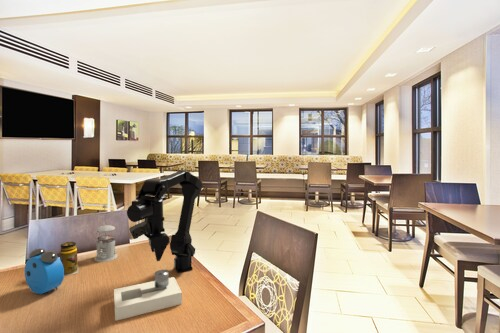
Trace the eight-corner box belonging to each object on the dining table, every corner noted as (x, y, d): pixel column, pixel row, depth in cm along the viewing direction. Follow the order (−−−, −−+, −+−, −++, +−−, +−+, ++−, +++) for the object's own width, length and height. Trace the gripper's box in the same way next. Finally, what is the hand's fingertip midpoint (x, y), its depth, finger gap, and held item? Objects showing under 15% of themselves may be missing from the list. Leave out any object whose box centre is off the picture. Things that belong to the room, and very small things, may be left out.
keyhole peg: (167, 293, 96) (167, 268, 96) (169, 299, 92) (169, 274, 92) (153, 296, 94) (153, 271, 94) (155, 303, 90) (155, 276, 90)
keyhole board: (174, 287, 101) (174, 276, 101) (181, 303, 91) (181, 292, 90) (114, 300, 92) (114, 289, 92) (115, 320, 81) (114, 308, 81)
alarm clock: (65, 290, 98) (63, 250, 97) (46, 299, 92) (45, 256, 91) (42, 283, 103) (41, 244, 102) (24, 290, 97) (22, 250, 96)
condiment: (78, 273, 111) (78, 244, 111) (53, 278, 107) (52, 248, 106) (78, 266, 117) (77, 239, 117) (54, 271, 113) (53, 242, 112)
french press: (101, 263, 120) (100, 208, 118) (87, 257, 126) (86, 205, 125) (122, 256, 129) (121, 204, 127) (108, 251, 135) (107, 201, 133)
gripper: (127, 211, 102) (129, 251, 103) (133, 224, 86) (135, 271, 87) (158, 207, 107) (159, 246, 109) (169, 219, 91) (170, 264, 93)
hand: (155, 256), depth 99 cm, fingers open, 9 cm apart
